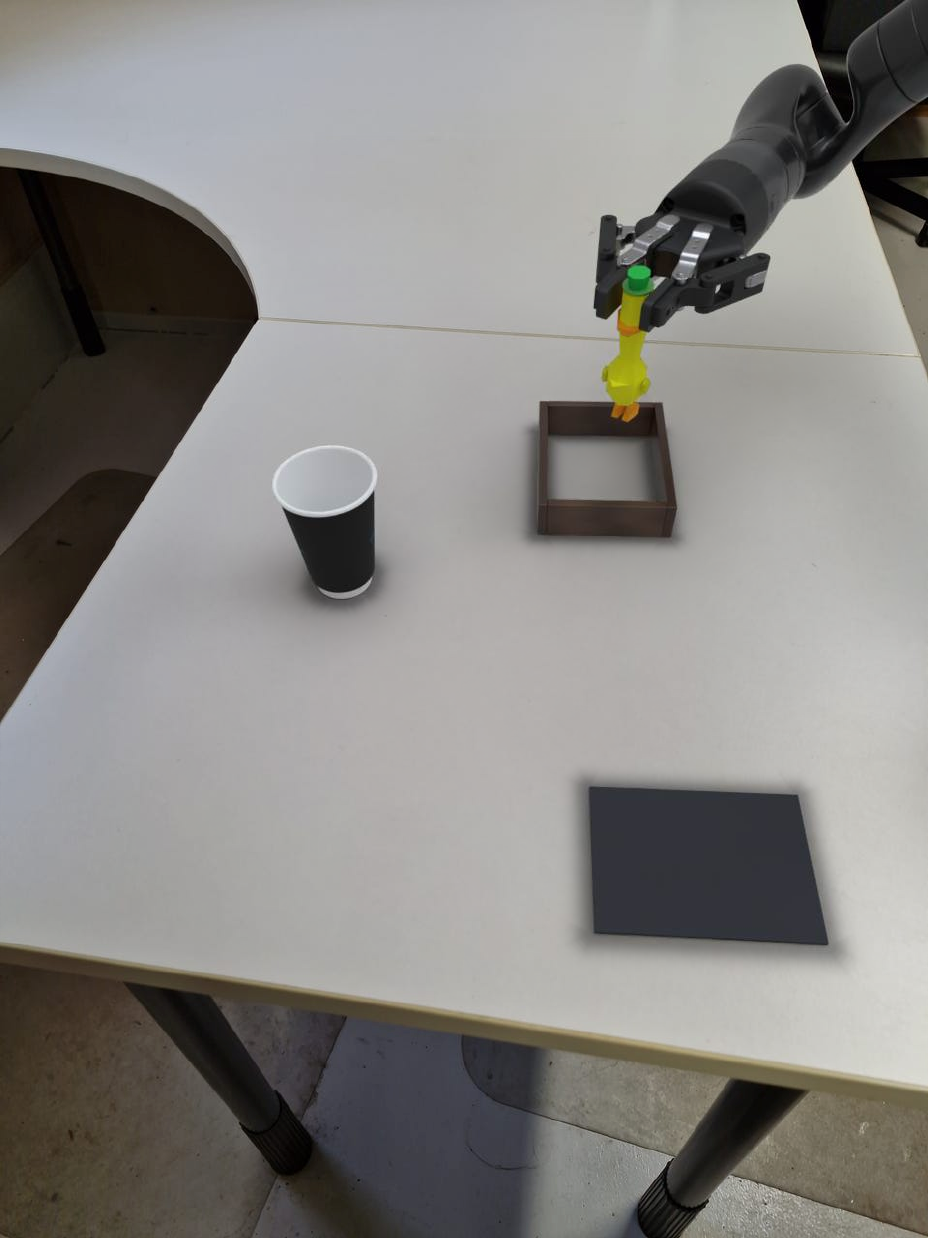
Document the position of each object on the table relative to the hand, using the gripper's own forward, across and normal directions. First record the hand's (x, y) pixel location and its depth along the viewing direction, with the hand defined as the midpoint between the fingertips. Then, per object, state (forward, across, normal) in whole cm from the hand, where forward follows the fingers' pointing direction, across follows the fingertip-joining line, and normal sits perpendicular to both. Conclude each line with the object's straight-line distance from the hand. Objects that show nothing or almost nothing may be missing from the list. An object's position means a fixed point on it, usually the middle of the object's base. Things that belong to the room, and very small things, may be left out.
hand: (622, 311), depth 58 cm
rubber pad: (+23, -20, -22) cm, 37 cm away
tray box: (-7, +3, -22) cm, 23 cm away
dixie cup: (+15, +16, -22) cm, 31 cm away
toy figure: (-3, 0, -10) cm, 11 cm away
